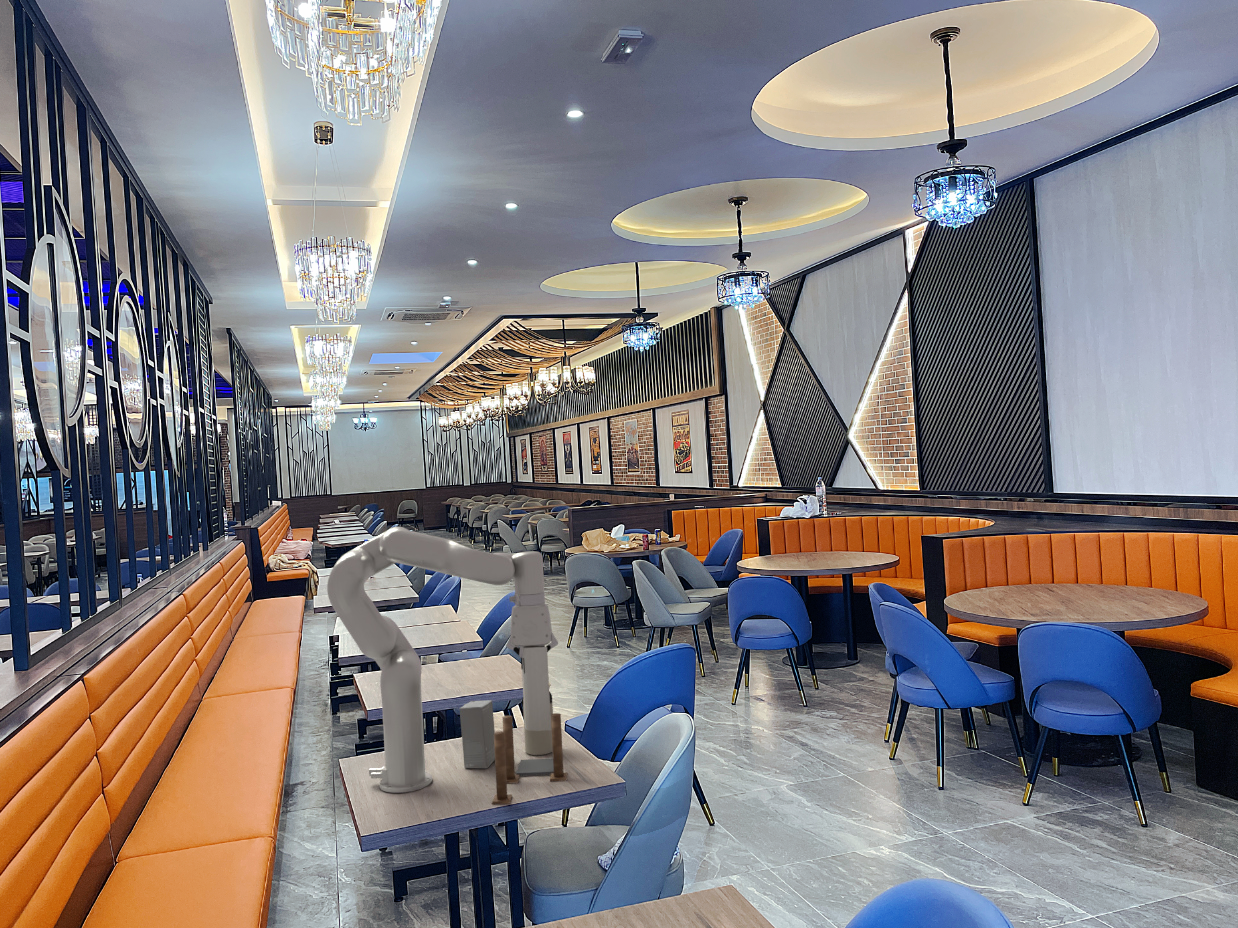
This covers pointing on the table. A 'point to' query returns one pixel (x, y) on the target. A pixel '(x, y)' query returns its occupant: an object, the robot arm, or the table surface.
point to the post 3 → (557, 749)
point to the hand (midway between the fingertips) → (533, 671)
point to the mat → (535, 767)
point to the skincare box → (478, 734)
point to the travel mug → (539, 737)
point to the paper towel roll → (536, 689)
